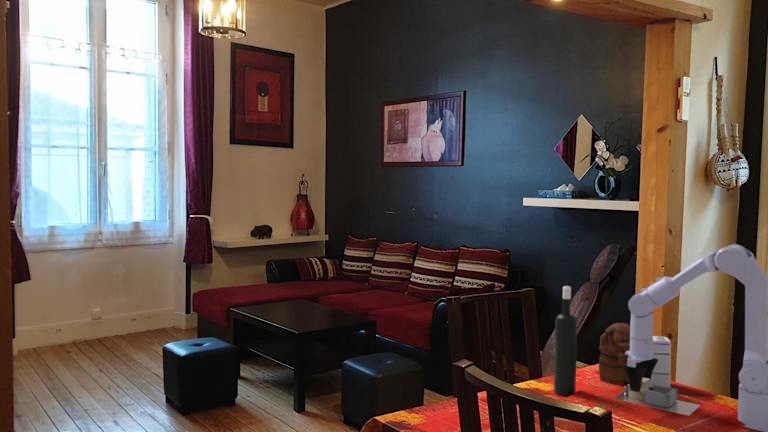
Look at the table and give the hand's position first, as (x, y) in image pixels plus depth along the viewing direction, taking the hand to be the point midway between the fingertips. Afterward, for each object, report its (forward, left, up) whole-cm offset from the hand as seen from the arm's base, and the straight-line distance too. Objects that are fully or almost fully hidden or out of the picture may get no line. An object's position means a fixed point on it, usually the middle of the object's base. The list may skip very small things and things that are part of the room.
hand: (640, 387), depth 171 cm
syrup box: (0, -14, -4) cm, 15 cm away
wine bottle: (+18, +8, -4) cm, 20 cm away
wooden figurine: (+9, -10, -4) cm, 14 cm away
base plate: (-4, 0, -4) cm, 6 cm away
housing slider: (-6, 0, -3) cm, 6 cm away
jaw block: (0, 0, -3) cm, 3 cm away
